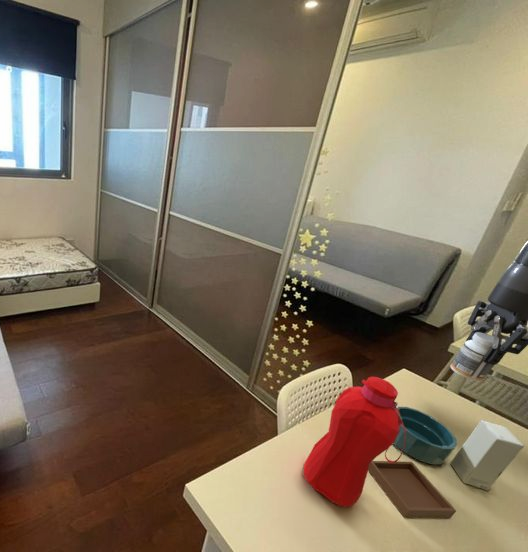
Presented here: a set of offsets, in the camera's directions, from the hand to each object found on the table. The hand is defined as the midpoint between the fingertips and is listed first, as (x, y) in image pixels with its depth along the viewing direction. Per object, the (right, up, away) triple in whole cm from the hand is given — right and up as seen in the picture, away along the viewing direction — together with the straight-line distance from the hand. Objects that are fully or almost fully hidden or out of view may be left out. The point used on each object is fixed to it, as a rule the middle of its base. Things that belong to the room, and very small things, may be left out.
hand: (478, 354), depth 71 cm
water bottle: (-39, -23, -9) cm, 46 cm away
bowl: (-13, -21, +2) cm, 25 cm away
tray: (-24, -25, -9) cm, 36 cm away
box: (-7, -25, -4) cm, 26 cm away
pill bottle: (-1, -5, +2) cm, 6 cm away
